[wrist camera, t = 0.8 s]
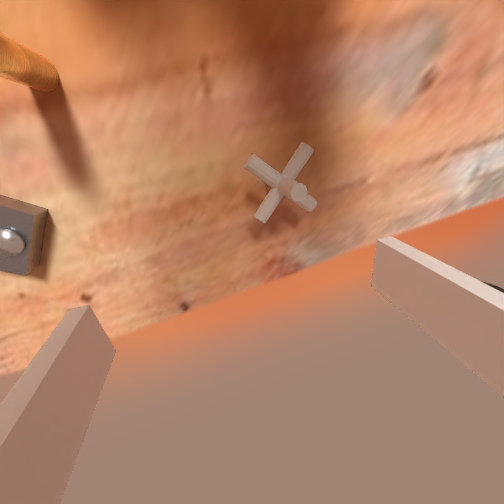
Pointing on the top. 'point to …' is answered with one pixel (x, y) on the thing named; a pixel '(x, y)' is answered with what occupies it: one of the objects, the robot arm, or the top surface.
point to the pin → (26, 66)
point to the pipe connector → (282, 182)
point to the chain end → (20, 235)
